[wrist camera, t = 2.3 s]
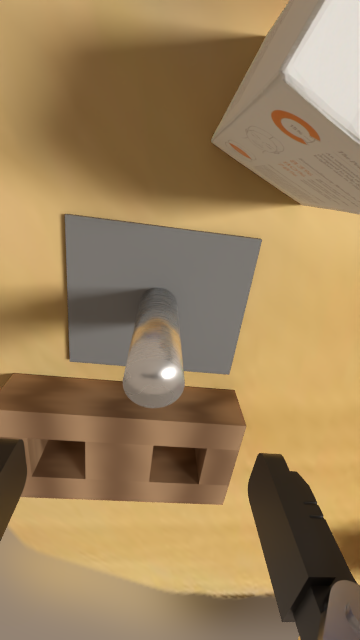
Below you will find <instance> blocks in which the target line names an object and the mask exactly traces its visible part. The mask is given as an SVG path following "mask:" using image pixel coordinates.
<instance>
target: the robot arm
mask: <svg viewBox="0 0 360 640" xmlns="http://www.w3.org/2000/svg"><path fill="white" fill-rule="evenodd" d="M26 478H27V464H26V456H25V447H24V441H23V440H22V439H4V438H0V541H1V539H2V536H3V534H4V532H5V530H6V528H7V525H8V523H9V521H10V519H11V516H12V514H13V512H14V510H15V508H16V505H17V503H18V501H19V499H20V496H21V494H22V492H23V489H24V486H25V483H26ZM248 497H249V502H250V505H251V509H252V513H253V516H254V520H255V524H256V527H257V531H258V535H259V538H260V542H261V546H262V550H263V553H264V557H265V561H266V564H267V568H268V572H269V575H270V579H271V583H272V586H273V590H274V594H275V597H276V601H277V605H278V608H279V612H280V616H281V619H282V622H296V626H297V629H298V632H299V638H298V640H360V585H358V584H357V582H356V581H355V579H354V578H353V576H352V574H351V572H350V570H349V568H348V566H347V564H346V562H345V560H344V557H343V555H342V553H341V551H340V549H339V547H338V545H337V543H336V541H335V539H334V537H333V535H332V533H331V530H330V528H329V526H328V524H327V522H326V520H325V519H324V518H323V514H322V512H321V510H320V508H319V505H317V501H316V499H315V497H314V495H313V493H312V491H311V489H310V487H309V485H308V484H307V483H306V482H305V481H304V479H303V478H302V477H301V476H300V475H299V474H298V473H297V472H294V471H289V468H288V466H287V464H286V462H285V459H284V458H283V456H282V455H281V454H267V453H259V454H258V456H257V459H256V461H255V464H254V467H253V470H252V473H251V476H250V479H249V482H248Z"/></svg>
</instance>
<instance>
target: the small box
mask: <svg viewBox="0 0 360 640" xmlns="http://www.w3.org/2000/svg"><path fill="white" fill-rule="evenodd" d="M211 142H212V143H213V144H214V145H216V146H217V147H219V148H220V149H221V150H223V151H224V152H225V153H227V154H228V155H230V156H231V157H233V158H234V159H235V160H237V161H238V162H240V163H241V164H243V165H244V166H245V167H247V168H248V169H250V170H251V171H253V172H254V173H256V174H257V175H259V176H260V177H261V178H263V179H264V180H266V181H267V182H269V183H270V184H272V185H273V186H275V187H276V188H278V189H279V190H280V191H282V192H283V193H285V194H286V195H288V196H289V197H291V198H292V199H294V200H295V201H297V202H299V203H300V204H301V205H304V206H311V207H317V208H325V209H332V210H338V211H344V212H349V213H355V214H360V0H290V1H289V2H288V4H287V5H286V7H285V8H284V10H283V11H282V13H281V14H280V16H279V17H278V19H277V20H276V22H275V23H274V25H273V26H272V28H271V29H270V31H269V32H268V34H267V35H266V37H265V39H264V41H263V43H262V45H261V46H260V48H259V50H258V52H257V54H256V56H255V58H254V60H253V61H252V63H251V65H250V67H249V69H248V71H247V73H246V75H245V76H244V78H243V80H242V82H241V84H240V86H239V88H238V90H237V91H236V93H235V95H234V97H233V99H232V101H231V103H230V105H229V106H228V108H227V110H226V112H225V114H224V116H223V118H222V120H221V122H220V123H219V125H218V127H217V129H216V131H215V133H214V135H213V137H212V139H211Z"/></svg>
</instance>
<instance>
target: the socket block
mask: <svg viewBox="0 0 360 640" xmlns="http://www.w3.org/2000/svg"><path fill="white" fill-rule="evenodd" d="M245 429H246V424H245V421H244V418H243V415H242V412H241V408H240V405H239V402H238V399H237V396H236V393H235V390H225V389H212V388H199V387H186V386H184V390H183V392H182V394H181V396H180V397H179V398H178V399H177V400H176V401H175V402H173V403H172V404H170V405H168V406H165V407H161V408H146V407H143V406H140V405H138V404H136V403H134V402H133V401H131V400H130V399H129V398H128V396H127V395H126V393H125V391H124V389H123V382H121V381H108V380H94V379H81V378H68V377H55V376H42V375H29V374H16V373H13V374H12V376H11V377H10V378H9V380H8V381H7V382H6V383H5V385H4V386H3V387H2V388H1V390H0V438H4V439H22V440H23V441H24V447H25V456H26V464H27V478H26V483H25V486H24V489H23V492H22V494H21V496H20V497H35V498H61V499H87V500H112V501H138V502H164V503H190V504H216V505H223V502H224V499H225V496H226V492H227V489H228V486H229V482H230V479H231V476H232V472H233V469H234V466H235V462H236V459H237V456H238V452H239V449H240V446H241V442H242V439H243V436H244V432H245Z"/></svg>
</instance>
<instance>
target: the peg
mask: <svg viewBox="0 0 360 640" xmlns="http://www.w3.org/2000/svg"><path fill="white" fill-rule="evenodd" d="M184 385H185V382H184V371H183V360H182V350H181V339H180V329H179V318H178V308H177V301H176V298H175V296H174V295H173V294H172V293H171V292H170V291H169V290H167V289H164V288H158V287H157V288H152V289H149V290H147V291H146V292H145V293H144V294H143V295H142V297H141V299H140V302H139V307H138V311H137V316H136V321H135V326H134V330H133V335H132V340H131V344H130V349H129V354H128V359H127V363H126V368H125V373H124V378H123V389H124V391H125V393H126V395H127V396H128V398H129V399H130V400H131V401H133V402H134V403H136V404H138V405H140V406H143V407H146V408H161V407H165V406H168V405H170V404H172V403H173V402H175V401H176V400H177V399H178V398H179V397H180V396H181V394H182V392H183V390H184Z"/></svg>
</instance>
